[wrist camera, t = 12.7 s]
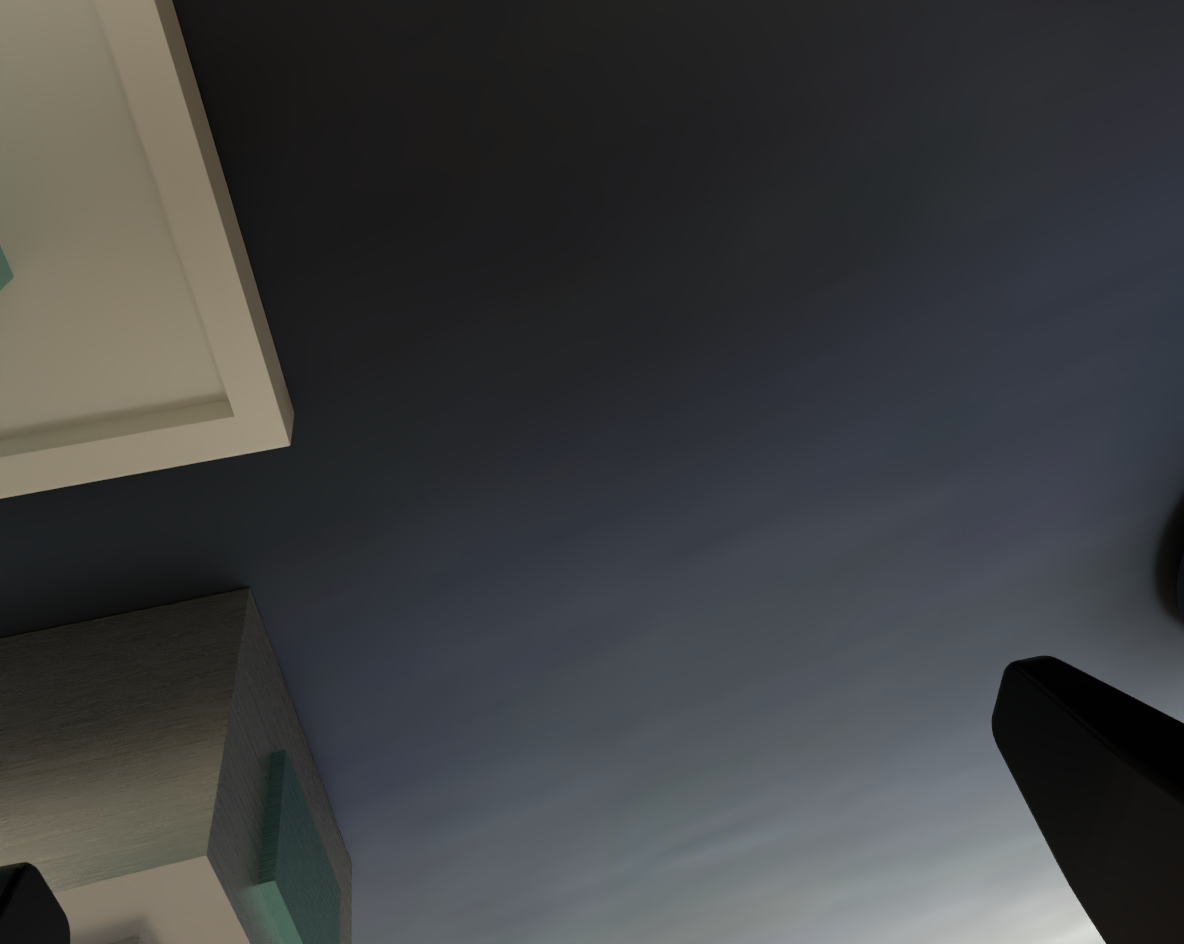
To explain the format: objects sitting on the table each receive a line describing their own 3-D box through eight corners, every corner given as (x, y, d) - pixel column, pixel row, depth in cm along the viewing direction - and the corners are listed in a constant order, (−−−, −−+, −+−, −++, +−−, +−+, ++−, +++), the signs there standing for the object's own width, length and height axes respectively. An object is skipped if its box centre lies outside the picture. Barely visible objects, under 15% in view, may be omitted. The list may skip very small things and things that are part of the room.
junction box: (264, 585, 20) (223, 872, 14) (362, 862, 25) (365, 1161, 19) (-142, 667, 19) (-386, 1023, 13) (50, 941, 24) (-55, 1288, 18)
